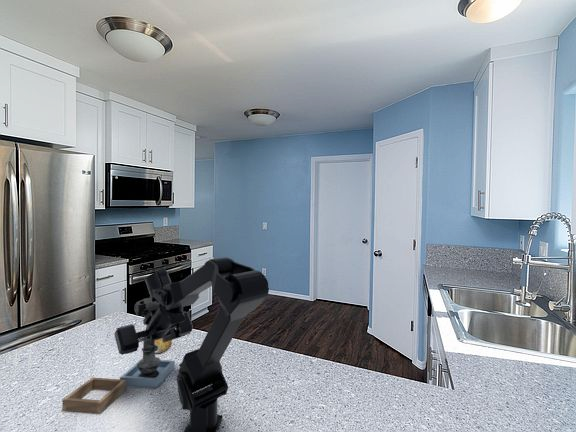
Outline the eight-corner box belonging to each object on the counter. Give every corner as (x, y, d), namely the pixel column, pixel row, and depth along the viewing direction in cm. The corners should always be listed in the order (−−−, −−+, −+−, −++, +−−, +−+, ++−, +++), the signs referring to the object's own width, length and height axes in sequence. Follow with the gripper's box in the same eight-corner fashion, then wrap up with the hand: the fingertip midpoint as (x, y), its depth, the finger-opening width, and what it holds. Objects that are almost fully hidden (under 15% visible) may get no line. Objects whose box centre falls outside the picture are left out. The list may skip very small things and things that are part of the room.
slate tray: (156, 388, 78) (156, 380, 78) (119, 385, 79) (119, 377, 79) (174, 368, 88) (174, 360, 88) (141, 366, 89) (141, 358, 89)
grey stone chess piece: (143, 383, 79) (143, 338, 79) (132, 375, 82) (133, 332, 82) (164, 374, 83) (165, 331, 83) (153, 367, 87) (154, 325, 87)
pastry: (159, 341, 106) (159, 330, 106) (177, 342, 105) (177, 331, 105) (142, 353, 97) (142, 341, 97) (161, 355, 96) (162, 343, 96)
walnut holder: (100, 413, 68) (100, 402, 68) (62, 410, 69) (62, 399, 69) (126, 389, 77) (126, 379, 77) (92, 387, 78) (92, 377, 78)
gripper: (188, 283, 87) (170, 312, 95) (117, 296, 73) (102, 329, 81) (202, 318, 82) (182, 345, 89) (128, 338, 68) (112, 369, 76)
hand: (146, 345), depth 84 cm, fingers open, 9 cm apart
